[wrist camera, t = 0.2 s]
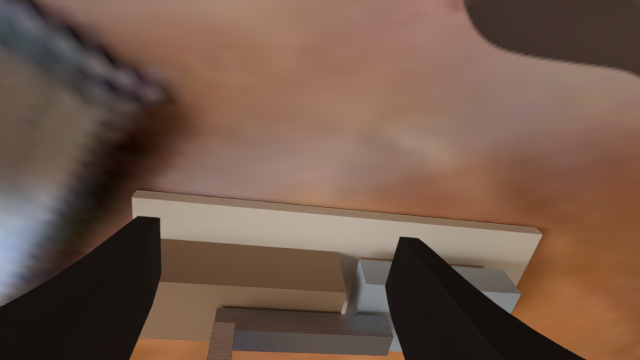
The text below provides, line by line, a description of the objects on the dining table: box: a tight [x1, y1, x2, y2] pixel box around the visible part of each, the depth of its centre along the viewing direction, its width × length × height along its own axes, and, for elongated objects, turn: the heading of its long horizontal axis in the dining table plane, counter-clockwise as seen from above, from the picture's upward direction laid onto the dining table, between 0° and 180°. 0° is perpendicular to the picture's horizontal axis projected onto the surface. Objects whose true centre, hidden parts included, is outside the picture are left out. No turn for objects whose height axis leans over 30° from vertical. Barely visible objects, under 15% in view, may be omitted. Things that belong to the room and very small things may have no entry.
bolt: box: [207, 308, 394, 360], centre depth 20 cm, size 2×9×4 cm, turn 80°
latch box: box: [132, 190, 543, 341], centre depth 24 cm, size 9×24×4 cm, turn 81°
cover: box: [345, 259, 521, 351], centre depth 24 cm, size 5×9×2 cm, turn 81°
